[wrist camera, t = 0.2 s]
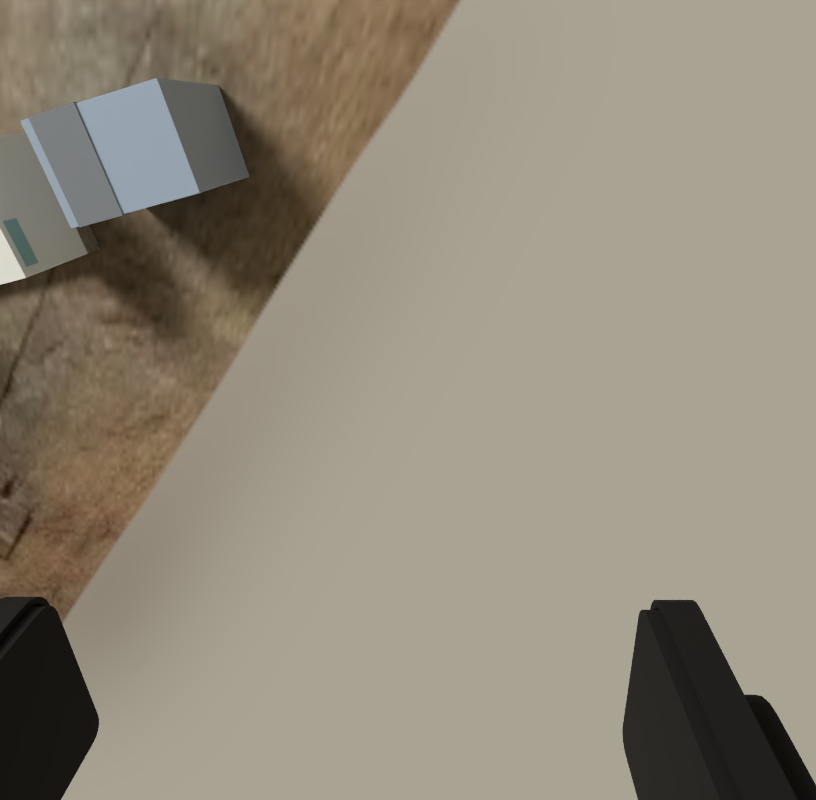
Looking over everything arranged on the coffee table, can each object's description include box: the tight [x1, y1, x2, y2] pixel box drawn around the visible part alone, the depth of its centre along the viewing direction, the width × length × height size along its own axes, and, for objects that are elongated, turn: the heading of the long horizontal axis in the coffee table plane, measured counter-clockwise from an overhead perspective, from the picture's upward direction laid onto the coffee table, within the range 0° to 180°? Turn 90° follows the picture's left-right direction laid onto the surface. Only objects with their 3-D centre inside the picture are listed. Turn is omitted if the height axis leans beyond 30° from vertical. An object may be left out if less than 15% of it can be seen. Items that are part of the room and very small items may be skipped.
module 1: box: [0, 133, 88, 285], centre depth 33 cm, size 2×7×6 cm, turn 14°
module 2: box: [21, 78, 249, 228], centre depth 32 cm, size 7×5×8 cm
